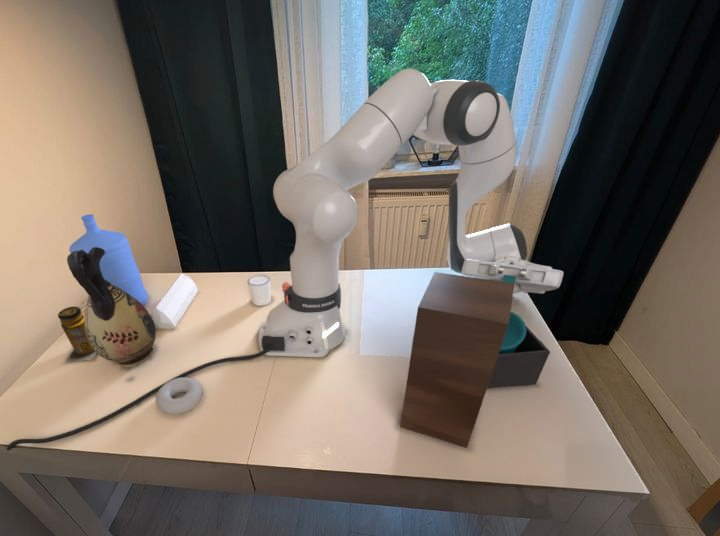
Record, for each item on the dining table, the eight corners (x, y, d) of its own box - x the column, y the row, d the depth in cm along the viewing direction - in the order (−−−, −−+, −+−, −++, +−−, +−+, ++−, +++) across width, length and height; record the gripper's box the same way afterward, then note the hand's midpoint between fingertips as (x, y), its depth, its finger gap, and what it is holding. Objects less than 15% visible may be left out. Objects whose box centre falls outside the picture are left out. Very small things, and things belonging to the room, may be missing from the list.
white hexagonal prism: (175, 321, 101) (203, 279, 120) (149, 310, 100) (181, 269, 119) (169, 340, 106) (196, 296, 124) (144, 330, 105) (176, 287, 123)
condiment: (105, 340, 104) (87, 303, 97) (93, 359, 98) (73, 321, 90) (79, 342, 104) (59, 305, 97) (66, 362, 98) (43, 324, 90)
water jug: (156, 291, 124) (126, 205, 107) (137, 318, 112) (100, 225, 95) (111, 293, 126) (75, 208, 109) (88, 319, 114) (43, 228, 97)
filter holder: (482, 281, 89) (486, 267, 85) (531, 288, 85) (537, 274, 81) (463, 354, 81) (466, 342, 77) (515, 366, 77) (522, 354, 73)
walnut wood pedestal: (414, 386, 80) (434, 271, 64) (475, 403, 76) (514, 283, 59) (399, 427, 72) (417, 307, 56) (466, 448, 67) (508, 323, 51)
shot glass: (274, 294, 116) (271, 274, 112) (271, 306, 111) (268, 285, 107) (252, 295, 117) (249, 274, 113) (248, 306, 112) (245, 286, 108)
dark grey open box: (466, 390, 78) (476, 357, 73) (442, 348, 90) (449, 317, 84) (535, 384, 78) (550, 351, 73) (502, 343, 89) (513, 312, 84)
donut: (148, 408, 82) (181, 424, 78) (143, 397, 80) (176, 412, 75) (181, 380, 89) (213, 393, 84) (177, 369, 86) (209, 382, 82)
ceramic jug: (112, 341, 103) (62, 236, 85) (168, 335, 104) (130, 228, 85) (91, 384, 90) (26, 269, 72) (155, 376, 90) (107, 260, 72)
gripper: (465, 256, 97) (463, 250, 85) (559, 268, 88) (572, 262, 76) (459, 281, 98) (456, 278, 86) (550, 295, 90) (562, 293, 77)
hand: (511, 271), depth 81 cm, fingers open, 3 cm apart
